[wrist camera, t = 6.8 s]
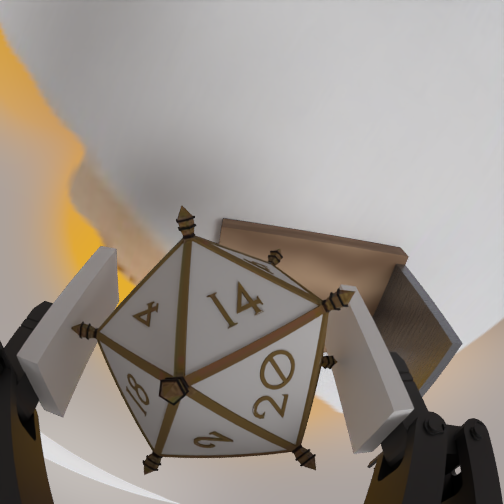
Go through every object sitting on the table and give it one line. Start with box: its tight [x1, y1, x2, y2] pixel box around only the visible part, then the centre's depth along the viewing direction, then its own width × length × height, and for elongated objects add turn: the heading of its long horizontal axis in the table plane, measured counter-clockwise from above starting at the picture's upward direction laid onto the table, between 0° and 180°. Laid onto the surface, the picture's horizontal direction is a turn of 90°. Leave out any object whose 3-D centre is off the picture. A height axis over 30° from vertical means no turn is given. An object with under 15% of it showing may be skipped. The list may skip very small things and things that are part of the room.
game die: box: [71, 206, 356, 474], centre depth 10 cm, size 9×8×10 cm
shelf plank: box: [219, 218, 408, 352], centre depth 31 cm, size 14×19×2 cm
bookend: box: [372, 264, 462, 397], centre depth 26 cm, size 12×1×12 cm, turn 171°
